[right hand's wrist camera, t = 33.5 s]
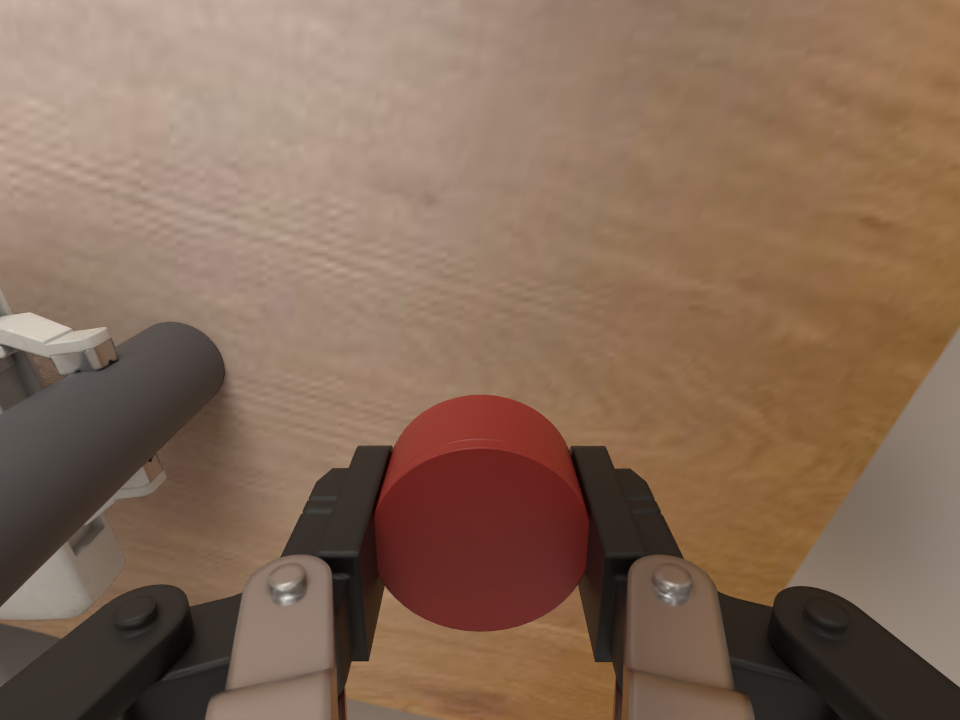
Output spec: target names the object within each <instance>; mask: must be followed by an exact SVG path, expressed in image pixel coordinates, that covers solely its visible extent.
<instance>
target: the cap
mask: <svg viewBox="0 0 960 720" xmlns="http://www.w3.org/2000/svg"><path fill="white" fill-rule="evenodd" d="M374 528H375V541H376V554H377V567H378V574H379V577H380V578H381V580H382V582H383V583H384V585H385V586H386V588H387V589H388V590H389V591H390V592H391V594H392V595H393V596H394V597H395V598H396V599H397V600H398V601H399V602H400V603H401V604H403V605H404V606H405V607H406V608H408V609H409V610H411V611H412V612H414V613H415V614H417V615H419V616H421V617H422V618H424V619H426V620H429V621H431V622H433V623H436V624H438V625H442V626H445V627H449V628H453V629H459V630H464V631H478V632H480V631H497V630H504V629H509V628H513V627H517V626H520V625H523V624H526V623H529V622H531V621H534V620H536V619H538V618H540V617H542V616H544V615H545V614H547V613H548V612H550V611H552V610H553V609H554V608H556V607H557V606H558V605H559V604H561V603H562V602H563V601H564V600H565V599H566V598H567V597H568V596H569V595H570V594H571V593H572V592H573V590H574V589H575V588H576V586H577V585H578V583H579V582H580V580H581V578H582V576H583V575H584V573H585V569H586V558H587V545H588V532H589V515H588V512H587V509H586V505H585V502H584V498H583V495H582V492H581V488H580V485H579V482H578V478H577V475H576V472H575V468H574V465H573V462H572V458H571V455H570V451H569V449H568V447H567V445H566V442H565V440H564V439H563V437H562V436H561V434H560V433H559V431H558V430H557V429H556V428H555V427H554V425H553V424H552V423H551V422H550V421H549V420H548V419H546V418H545V417H544V416H543V415H542V414H540V413H539V412H537V411H536V410H534V409H533V408H531V407H529V406H527V405H525V404H523V403H521V402H518V401H515V400H512V399H509V398H504V397H499V396H492V395H469V396H463V397H457V398H454V399H450V400H447V401H444V402H442V403H439V404H437V405H435V406H433V407H431V408H430V409H428V410H426V411H424V412H423V413H422V414H420V415H419V416H418V417H417V418H415V419H414V420H413V421H412V422H411V423H410V424H409V425H408V426H407V427H406V429H405V430H404V431H403V433H402V434H401V435H400V437H399V439H398V441H397V442H396V444H395V446H394V449H393V452H392V455H391V458H390V461H389V465H388V468H387V472H386V475H385V478H384V482H383V485H382V489H381V492H380V495H379V499H378V502H377V506H376V509H375V512H374Z"/></svg>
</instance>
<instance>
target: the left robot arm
mask: <svg viewBox="0 0 960 720" xmlns="http://www.w3.org/2000/svg"><path fill="white" fill-rule="evenodd" d="M32 353H33V354H36V355H39V356H43V357H46V358H49V359H52V361H53V363H54V365H55V367H56V369H57V371H58V373H59V375H60V376H62V375H70V374H74V373H76V372H78V371H81V372H91V371H95V370H98V369H101V368H103V367H105V366H107V365H108V364H109V362H112V361H115V360H117V359H118V358H119V357H118V354H117V352H116V349H115V347H114V344H113V341H112V339H111V337H110V335H109V332H108V329H107V328H106V327H101V328H94V329H86V330H79V331H73V329H72V328H69V327H67V326H64V325H62V324H59V323H56V322H54V321H51V320H49V319H46V318H44V317H41V316H39V315H36V314H33V313H31V312H28V313H20V314H14V313H13V311H12V309H11V307H10V304H9V302H8V300H7V298H6V296H5V293H4V291H3V289H2V287H1V285H0V414H1V413H3V412H5V411H6V410H8V409H10V408H12V407H13V406H15V405H17V404H18V403H20V402H22V401H24V400H25V399H27V398H29V397H30V396H32V395H34V394H36V393H37V392H39V391H41V390H43V389H44V388H46V387H47V385H46V383H45V381H44V378H43V376H42V374H41V372H40V370H39V367H38V365H37V363H36V361H35V359H34V357H33V354H32ZM166 479H167V477H166V474H165V471H164V469H163V467H162V464H161V462H160V460H159V457H158V455H157V453H156V454H155V455H154V456H153V457H152V458H151V459H150V460H149V461H148V462H147V463H146V464H144V465H143V466H142V467H141V468H140V469H139V470H138V471H137V472H136V473H135V474H134V475H133V476H132V477H131V478H130V479H129V480H128V481H127V482H126V483H125V484H124V485H123V486H122V487H121V488H120V489H119V490H118V491H117V492H116V493H115V494H114V495H113V496H112V497H111V498H110V499H109V500H108V501H107V502H106V503H105V504H104V505H103V506H102V507H101V508H100V509H99V510H98V511H97V512H96V513H95V514H94V515H93V516H92V517H91V518H90V519H89V520H88V521H87V522H86V523H85V524H84V525H83V526H82V527H81V528H80V529H79V530H78V531H77V532H76V533H75V534H74V535H73V536H72V537H71V538H70V539H69V540H68V541H67V542H66V543H65V544H64V545H63V546H62V547H61V548H60V549H59V550H58V551H57V552H56V553H55V554H54V555H53V556H52V557H51V558H50V559H49V560H47V561H46V562H45V563H44V564H43V565H42V566H41V567H40V568H39V569H38V570H37V571H36V572H35V573H34V574H33V575H32V576H31V577H30V578H29V579H28V580H27V581H26V582H25V583H24V584H23V585H22V586H21V587H20V588H19V589H18V590H17V591H16V592H15V593H14V594H13V595H12V596H11V597H10V598H9V599H8V600H7V601H6V602H5V603H4V604H3V605H2V606H1V607H0V619H1V620H55V619H68V618H73V617H77V616H79V615H81V614H83V613H84V612H86V611H87V610H88V609H89V608H90V607H92V606H93V605H94V604H95V603H96V602H97V600H98V599H99V598H100V597H101V596H102V595H103V594H104V593H105V592H106V591H107V589H108V588H109V587H110V585H111V584H112V583H113V581H114V580H115V579H116V577H117V576H118V574H119V573H120V572H121V570H122V569H123V567H124V565H125V562H126V559H125V555H124V552H123V550H122V548H121V546H120V544H119V541H118V539H117V537H116V535H115V533H114V531H113V529H112V526H111V524H110V522H109V520H108V518H107V516H106V513H105V510H106V509H107V508H109V507H110V506H111V505H112V504H114V503H115V502H116V501H117V500H118V499H125V498H133V497H141V496H146V495H148V494H150V493H152V492H154V491H155V490H156V489H157V488H158V487H159V486H160V485H161V484H162V483H163V482H164V481H165V480H166Z"/></svg>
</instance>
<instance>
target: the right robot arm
mask: <svg viewBox="0 0 960 720" xmlns="http://www.w3.org/2000/svg"><path fill="white" fill-rule="evenodd" d="M392 452H393V447H392V446H358V447H357V449H356V451H355V454H354V456H353V459H352V461H351V464H350V466H349V468H332V469H331V470H330V471H329V472H328V473H327V474H325V475H324V476H323V477H322V478H321V479H319V480H318V481H317V482H316V484H315V486H314V488H313V490H312V492H311V494H310V497H309V501H307V503H306V505H305V507H304V509H303V514H301V515H300V517H299V520H298V522H297V524H296V526H295V528H294V530H293V532H292V534H291V536H290V538H289V540H288V543H287V545H286V547H285V549H284V551H283V553H282V555H281V557H280V558H278V559H275V560H273V561H271V562H269V563H267V564H265V565H264V566H262V567H261V568H259V569H258V570H256V571H255V572H254V573H253V574H252V575H251V576H250V578H249V579H248V580H247V582H246V584H245V586H244V589H243V592H242V593H240V594H237V595H235V596H232V597H228V598H225V599H220V600H216V601H212V602H208V603H204V604H199V605H195V606H191V607H189V603H188V599H187V596H186V594H185V593H184V592H183V591H182V590H181V589H179V588H177V587H175V586H171V585H150V586H145V587H141V588H138V589H134V590H132V591H129V592H127V593H125V594H123V595H120V596H118V597H117V598H115V599H113V600H112V601H110V602H109V603H107V604H106V605H104V606H103V607H102V608H101V609H99V610H98V611H97V612H95V613H94V614H93V615H92V616H90V617H89V618H88V619H87V620H85V621H84V622H83V623H81V624H80V625H79V626H78V627H76V628H75V629H74V630H73V631H71V632H70V633H69V634H68V635H66V636H65V637H64V638H62V639H61V640H60V641H59V642H57V643H56V644H55V645H54V646H52V647H51V648H50V649H48V650H47V651H46V652H45V653H44V654H42V655H41V656H40V657H38V658H37V659H36V660H35V661H33V662H32V663H31V664H29V665H28V666H27V667H26V668H24V669H23V670H22V671H21V672H19V673H18V674H17V675H16V676H14V677H13V678H12V679H10V680H9V681H8V682H7V683H5V684H4V685H3V686H2V687H0V720H347V703H346V690H345V684H346V681H347V677H348V673H349V669H350V665H351V661H369V657H370V652H371V648H372V643H373V638H374V633H375V629H376V624H377V619H378V615H379V610H380V605H381V601H382V596H383V591H384V587H385V585H384V583H383V582H382V580H381V578H380V577H379V574H378V567H377V554H376V541H375V528H374V512H375V509H376V506H377V502H378V499H379V495H380V492H381V489H382V485H383V482H384V478H385V475H386V472H387V468H388V465H389V461H390V458H391V455H392ZM570 455H571V458H572V462H573V465H574V468H575V472H576V475H577V478H578V482H579V485H580V488H581V492H582V495H583V498H584V502H585V505H586V509H587V512H588V515H589V532H588V545H587V558H586V569H585V573H584V575H583V576H582V578H581V580H580V582H579V583H578V587H579V591H580V596H581V600H582V605H583V609H584V614H585V618H586V623H587V628H588V632H589V637H590V641H591V646H592V650H593V655H594V659H595V662H613V666H614V670H615V674H616V682H615V690H614V702H613V720H960V687H958V686H957V685H956V684H955V683H953V682H952V681H951V680H950V679H948V678H947V677H946V676H944V675H943V674H942V673H941V672H939V671H938V670H937V669H936V668H934V667H933V666H932V665H930V664H929V663H928V662H927V661H925V660H924V659H923V658H922V657H920V656H919V655H918V654H917V653H915V652H914V651H913V650H912V649H910V648H909V647H908V646H906V645H905V644H904V643H903V642H901V641H900V640H899V639H897V638H896V637H895V636H894V635H892V634H891V633H890V632H889V631H887V630H886V629H885V628H884V627H882V626H881V625H880V624H879V623H877V622H876V621H875V620H873V619H872V618H871V617H870V616H868V615H867V614H866V613H865V612H863V611H862V610H861V609H860V608H858V607H857V606H855V605H854V604H852V603H851V602H849V601H848V600H846V599H844V598H842V597H840V596H838V595H836V594H834V593H831V592H828V591H826V590H822V589H819V588H813V587H806V586H795V587H790V588H786V589H784V590H782V591H781V592H779V593H778V594H777V596H776V597H775V600H774V604H773V607H770V606H766V605H762V604H758V603H753V602H749V601H745V600H741V599H737V598H734V597H730V596H728V595H725V594H722V593H720V592H718V591H717V589H716V586H715V584H714V582H713V580H712V579H711V578H710V576H709V575H708V574H707V573H706V572H705V571H704V570H702V569H701V568H699V567H698V566H697V565H695V564H693V563H691V562H689V561H687V560H685V559H684V558H683V556H682V554H681V552H680V550H679V548H678V546H677V544H676V542H675V540H674V537H673V535H672V533H671V531H670V529H669V527H668V525H667V523H666V521H665V519H664V517H663V515H662V514H661V511H660V509H659V507H658V505H657V503H656V501H654V496H653V494H652V492H651V490H650V488H649V486H648V484H647V482H646V481H644V480H643V479H642V478H641V477H640V476H638V475H637V474H636V473H635V472H634V471H632V470H631V469H615V468H614V466H613V464H612V461H611V459H610V456H609V454H608V451H607V449H606V447H605V446H571V447H570Z"/></svg>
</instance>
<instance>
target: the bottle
mask: <svg viewBox="0 0 960 720" xmlns="http://www.w3.org/2000/svg"><path fill="white" fill-rule="evenodd" d="M115 349H116V352H117V354H118V357H119V358H118V359H117V360H115V361H112V362H109V364H108V365H107V366H105V367H103V368H101V369H98V370H95V371H91V372H81V371H78V372H76V373H74V374H70V375H67V376H65V377H63V378H61V379H60V380H58V381H56V382H55V383H53V384H51V385H49V386H48V387H46V388H44V389H43V390H41V391H39V392H37V393H36V394H34V395H32V396H30V397H29V398H27V399H25V400H24V401H22V402H20V403H18V404H17V405H15V406H13V407H12V408H10V409H8V410H6V411H5V412H3V413H1V414H0V607H1V606H2V605H3V604H4V603H5V602H6V601H7V600H8V599H9V598H10V597H11V596H12V595H13V594H14V593H15V592H16V591H17V590H18V589H19V588H20V587H21V586H22V585H23V584H24V583H25V582H26V581H27V580H28V579H29V578H30V577H31V576H32V575H33V574H34V573H35V572H36V571H37V570H38V569H39V568H40V567H41V566H42V565H43V564H44V563H45V562H46V561H47V560H49V559H50V558H51V557H52V556H53V555H54V554H55V553H56V552H57V551H58V550H59V549H60V548H61V547H62V546H63V545H64V544H65V543H66V542H67V541H68V540H69V539H70V538H71V537H72V536H73V535H74V534H75V533H76V532H77V531H78V530H79V529H80V528H81V527H82V526H83V525H84V524H85V523H86V522H87V521H88V520H89V519H90V518H91V517H92V516H93V515H94V514H95V513H96V512H97V511H98V510H99V509H100V508H101V507H102V506H103V505H104V504H105V503H106V502H107V501H108V500H109V499H110V498H111V497H112V496H113V495H114V494H115V493H116V492H117V491H118V490H119V489H120V488H121V487H122V486H123V485H124V484H125V483H126V482H127V481H128V480H129V479H130V478H131V477H132V476H133V475H134V474H135V473H136V472H137V471H138V470H139V469H140V468H141V467H142V466H143V465H144V464H146V463H147V462H148V461H149V460H150V459H151V458H152V457H153V456H154V455H155V454H156V453H157V452H158V451H159V450H160V449H161V448H162V447H163V446H164V445H165V444H166V443H167V442H168V441H169V440H170V439H171V438H172V437H173V436H174V435H175V434H176V433H177V432H178V431H179V430H180V429H181V428H182V427H183V426H184V425H185V424H186V423H187V422H188V421H189V420H190V419H191V418H192V417H193V416H194V415H195V414H196V413H197V412H198V411H199V410H200V409H201V408H202V407H203V406H204V405H205V404H206V403H207V402H208V401H209V400H210V399H211V398H212V397H213V396H214V395H215V394H216V393H217V392H218V390H219V389H220V387H221V385H222V383H223V379H224V364H223V360H222V357H221V354H220V352H219V350H218V349H217V347H216V346H215V344H214V343H213V342H212V341H211V340H210V339H209V338H208V337H207V336H206V335H205V334H203V333H202V332H200V331H199V330H197V329H195V328H193V327H191V326H188V325H185V324H181V323H174V322H166V323H160V324H156V325H154V326H151V327H149V328H148V329H146V330H144V331H142V332H141V333H139V334H137V335H136V336H134V337H132V338H130V339H129V340H127V341H125V342H123V343H122V344H120V345H118V346H117V347H115Z"/></svg>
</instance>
